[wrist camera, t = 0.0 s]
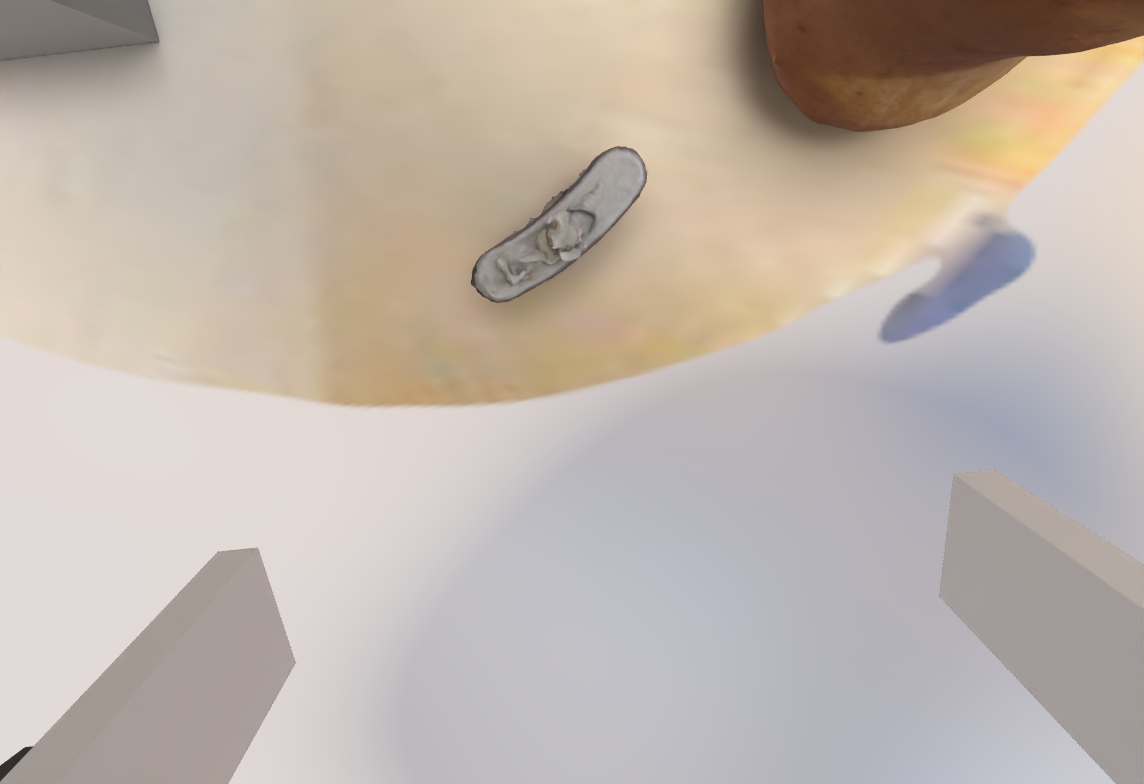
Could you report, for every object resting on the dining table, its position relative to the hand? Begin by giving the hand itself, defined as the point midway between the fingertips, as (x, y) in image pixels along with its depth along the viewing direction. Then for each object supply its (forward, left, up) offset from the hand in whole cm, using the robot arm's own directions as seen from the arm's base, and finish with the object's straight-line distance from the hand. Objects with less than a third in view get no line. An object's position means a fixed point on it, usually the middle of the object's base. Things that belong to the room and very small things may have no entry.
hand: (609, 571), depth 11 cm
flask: (-5, 0, -28) cm, 29 cm away
